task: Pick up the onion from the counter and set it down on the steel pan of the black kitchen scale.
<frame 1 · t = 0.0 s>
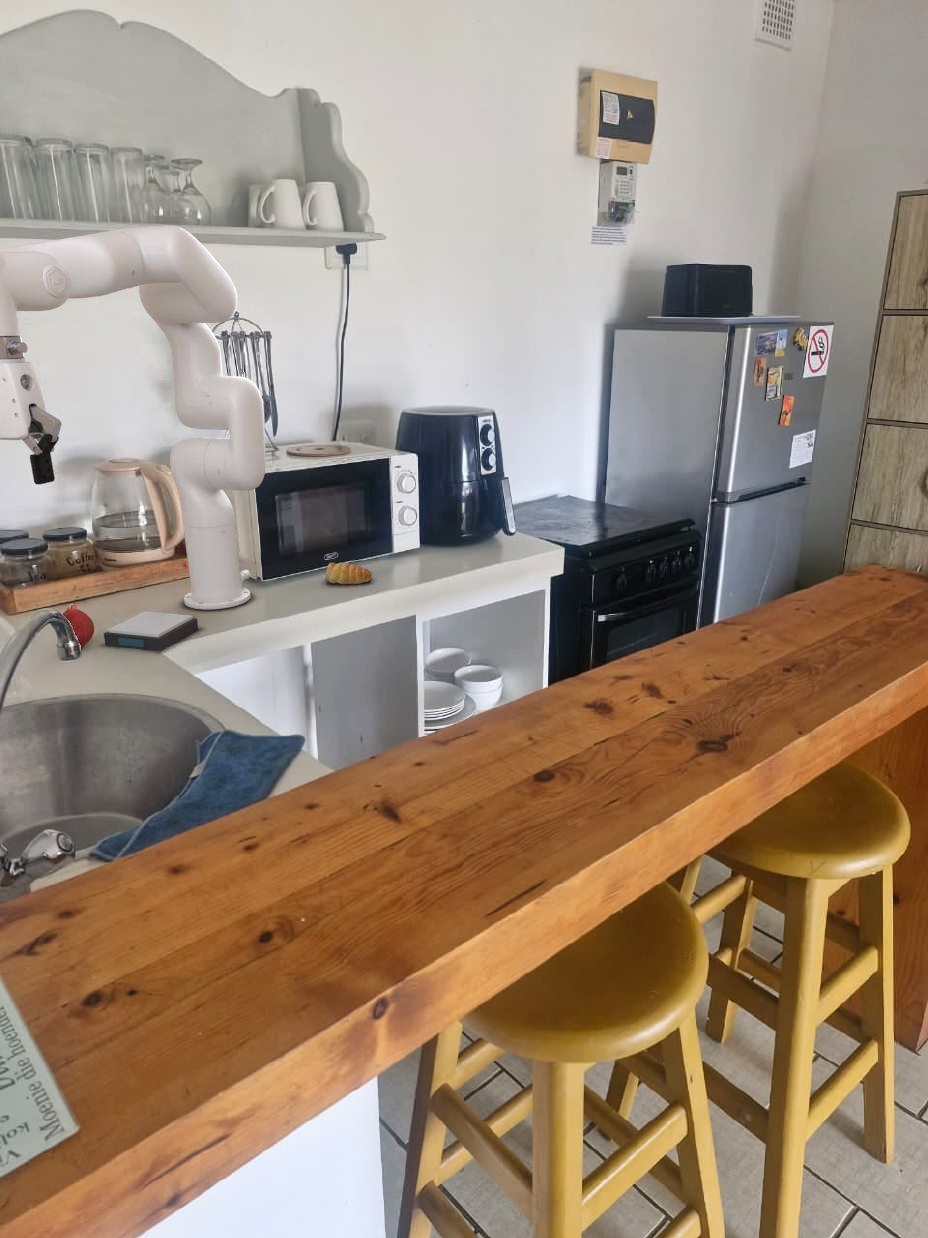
hand: (15, 481, 119), 31 cm above the countertop, tool pointing down, fingers open, 9 cm apart
scale: (153, 637, 151), on the countertop
pastry: (346, 581, 182), on the countertop
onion: (78, 651, 145), on the countertop
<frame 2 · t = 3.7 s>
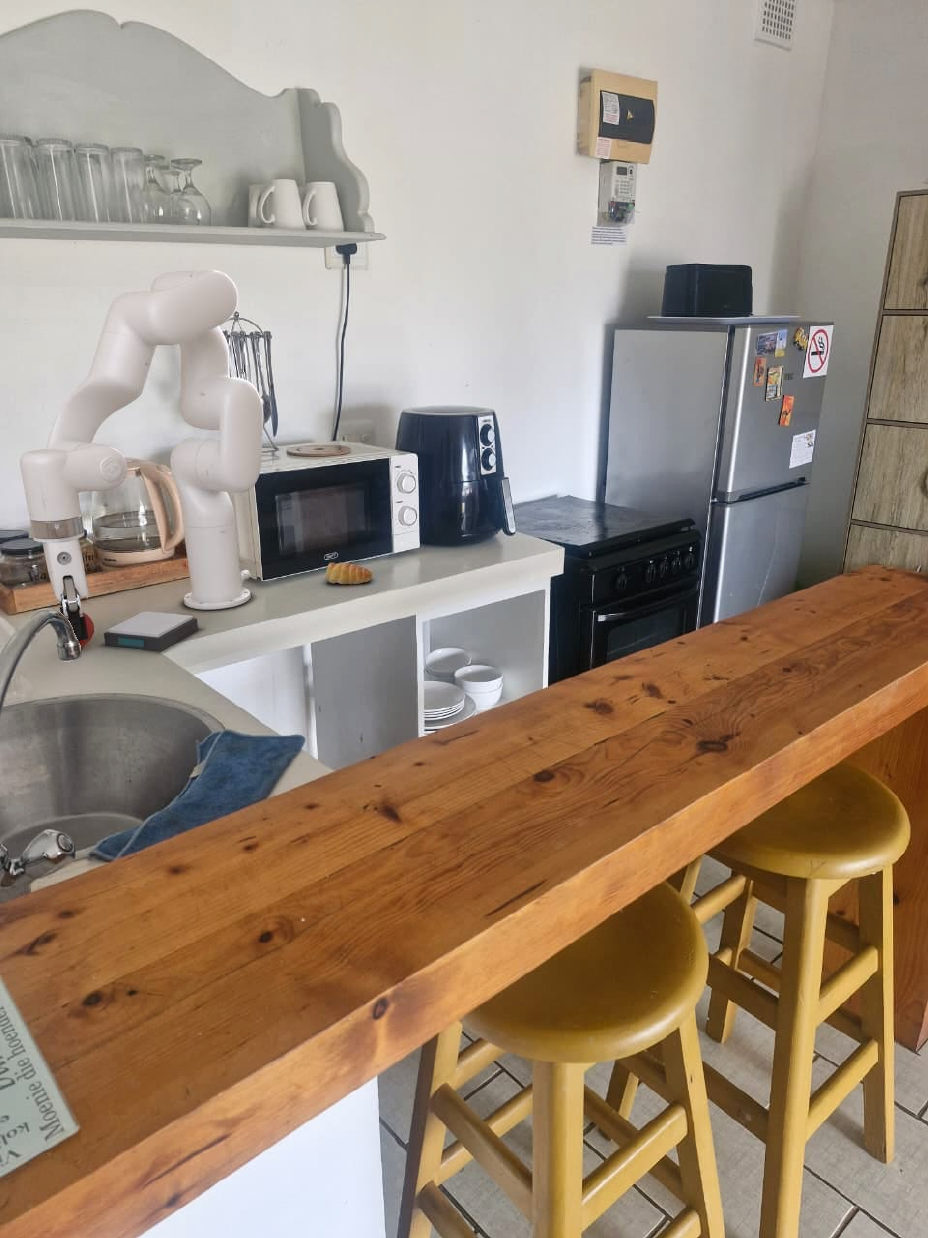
hand: (75, 633, 144), 3 cm above the countertop, tool pointing down, fingers closed on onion, 5 cm apart
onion: (78, 651, 145), on the countertop, touching gripper
everything else where it was.
when the fingers open (6 cm above the countertop, at t = 9.6 s): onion stays where it is, resting on scale.
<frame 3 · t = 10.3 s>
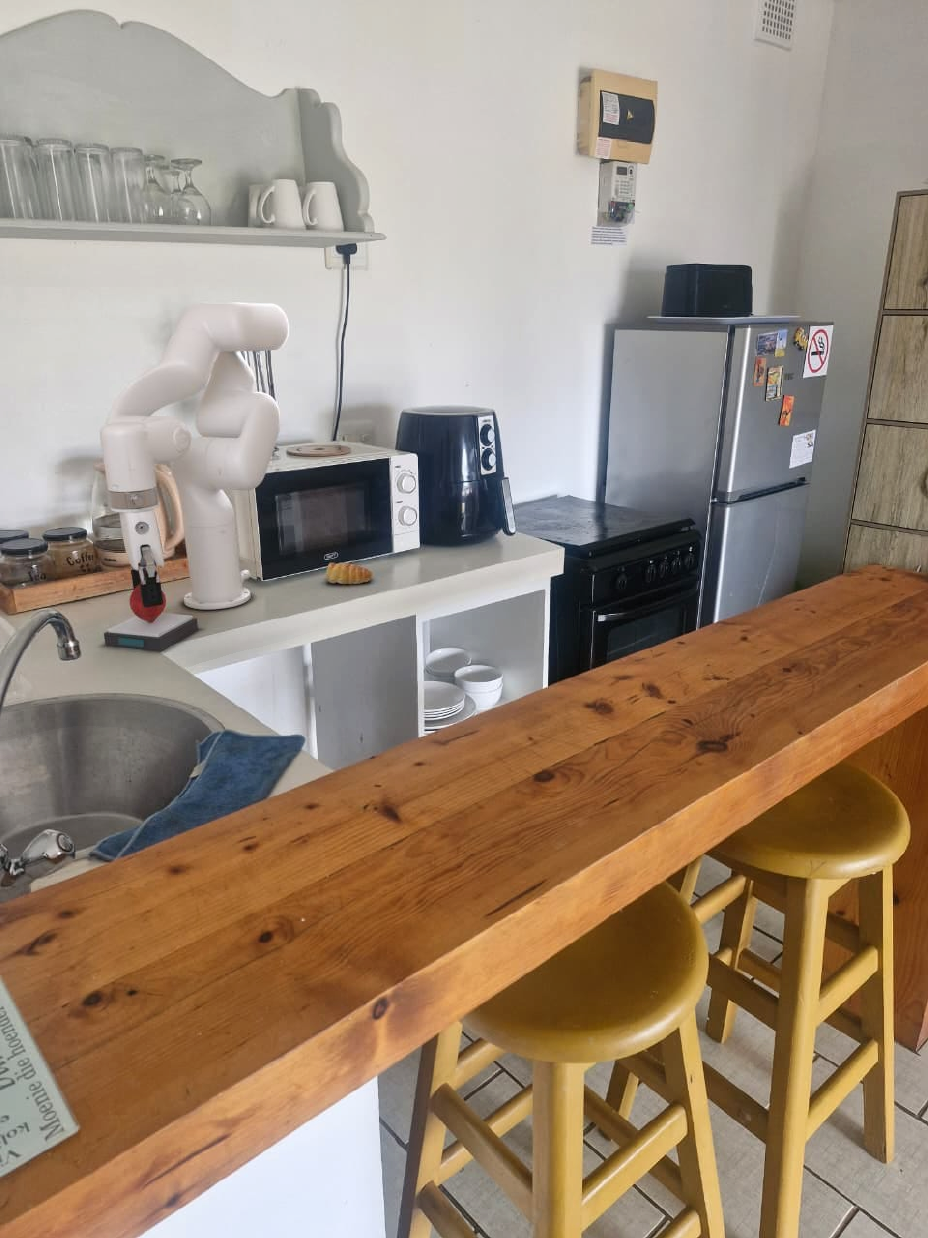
hand: (148, 597, 149), 7 cm above the countertop, tool pointing down, fingers open, 9 cm apart
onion: (150, 623, 150), point 3 cm above the countertop, touching scale
everything else where it was.
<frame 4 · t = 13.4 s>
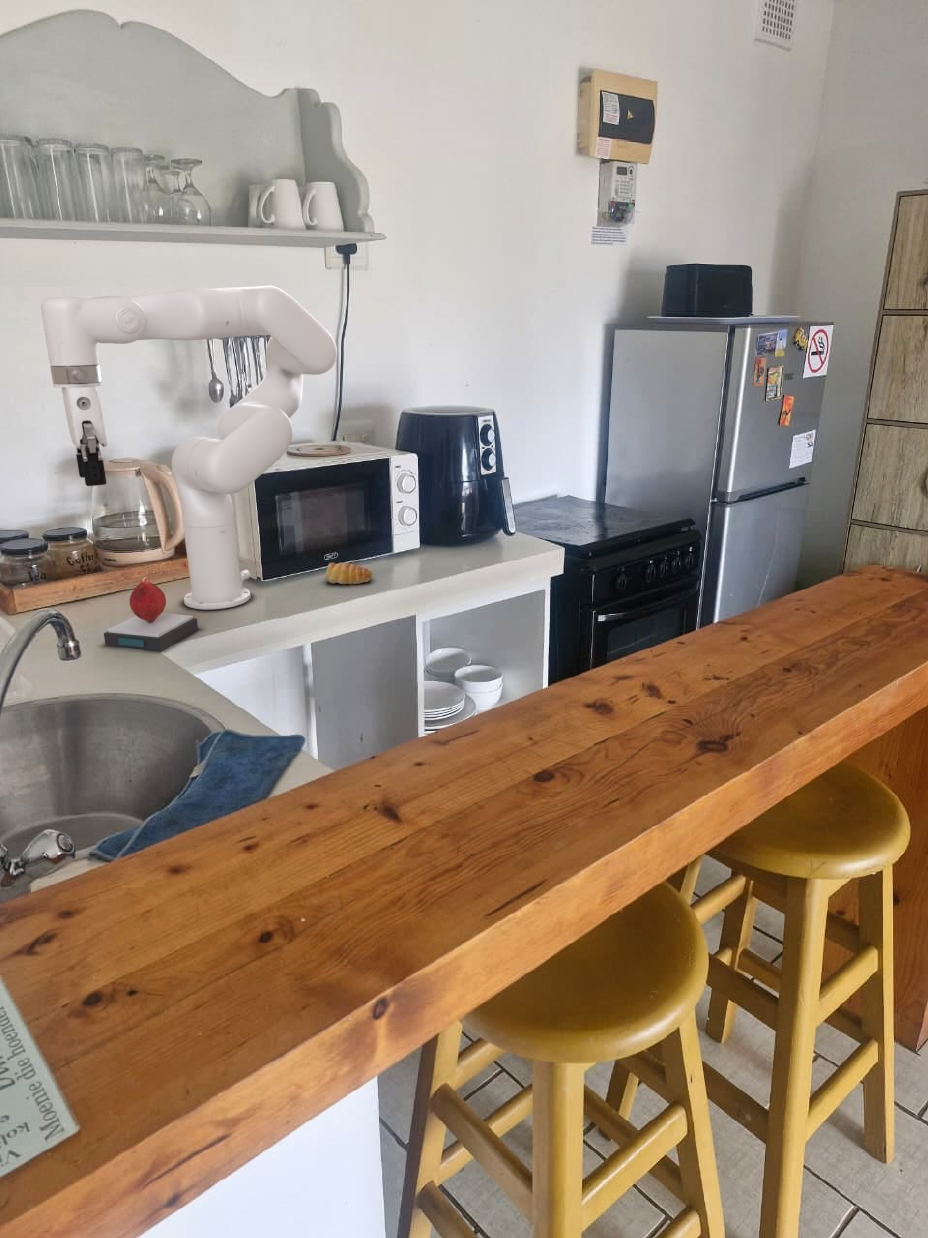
hand: (92, 480, 148), 26 cm above the countertop, tool pointing down, fingers open, 9 cm apart
nothing on the countertop moved.
at the end: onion inside the target area on the scale (0.1 cm from its centre), point 2.6 cm above the scale's base; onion tilted 0°; the gripper is holding nothing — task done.
